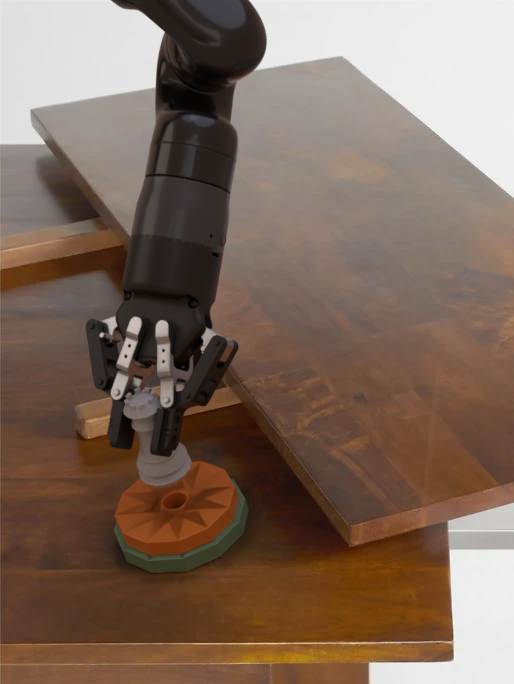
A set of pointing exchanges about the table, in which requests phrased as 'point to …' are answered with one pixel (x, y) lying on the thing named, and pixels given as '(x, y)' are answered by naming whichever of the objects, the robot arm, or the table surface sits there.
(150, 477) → the grey chess rook
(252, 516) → the table surface
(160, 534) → the ring stack
